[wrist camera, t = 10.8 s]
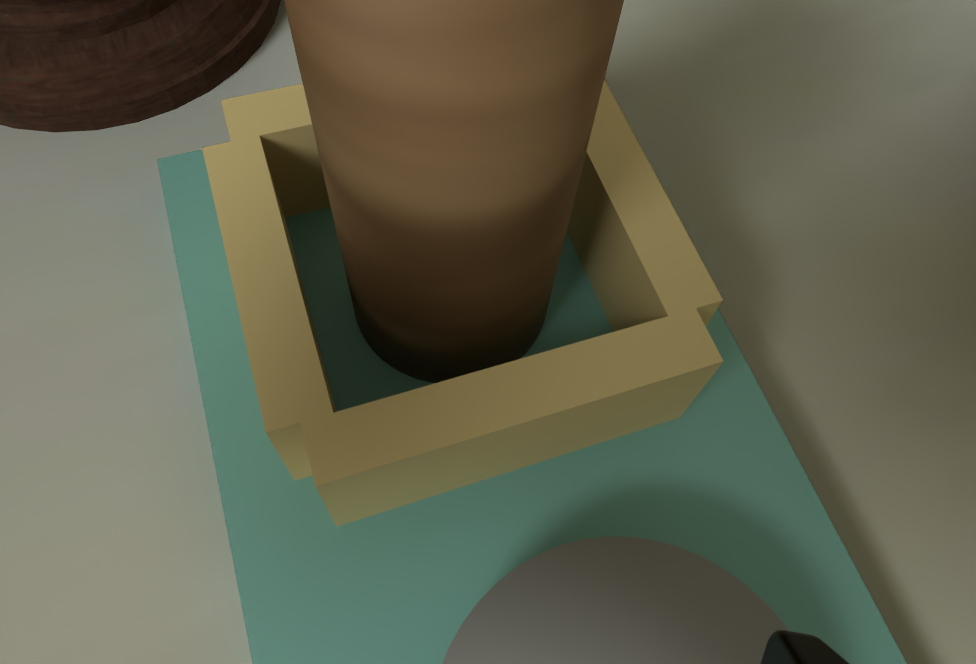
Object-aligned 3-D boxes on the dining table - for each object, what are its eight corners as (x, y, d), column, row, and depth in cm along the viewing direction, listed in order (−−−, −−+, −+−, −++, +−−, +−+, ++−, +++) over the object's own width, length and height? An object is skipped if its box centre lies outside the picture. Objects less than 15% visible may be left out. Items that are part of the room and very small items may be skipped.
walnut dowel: (575, 352, 18) (819, -334, 6) (382, 409, 17) (242, -264, 5) (510, 196, 20) (601, -555, 8) (332, 240, 19) (150, -529, 7)
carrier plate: (978, 854, 15) (1152, 897, 11) (358, 1151, 12) (323, 1325, 9) (583, 92, 23) (610, -25, 19) (169, 183, 21) (112, 70, 17)
